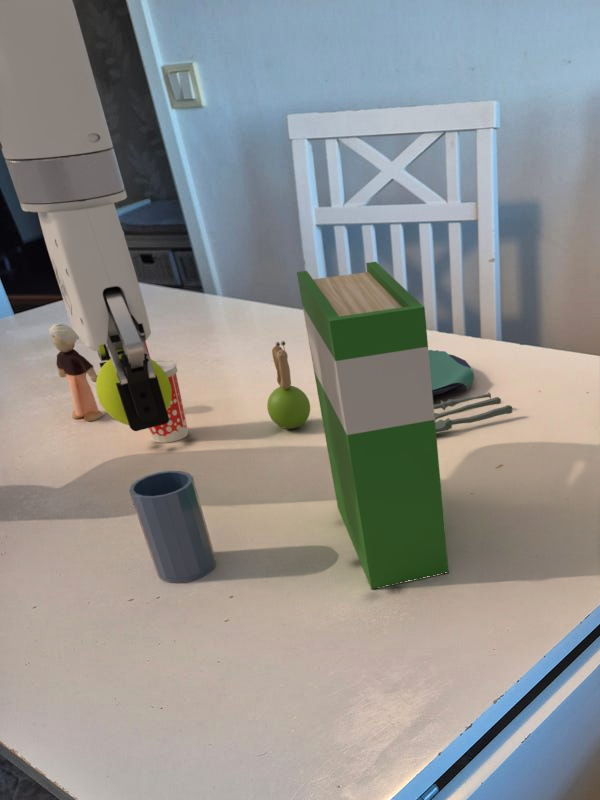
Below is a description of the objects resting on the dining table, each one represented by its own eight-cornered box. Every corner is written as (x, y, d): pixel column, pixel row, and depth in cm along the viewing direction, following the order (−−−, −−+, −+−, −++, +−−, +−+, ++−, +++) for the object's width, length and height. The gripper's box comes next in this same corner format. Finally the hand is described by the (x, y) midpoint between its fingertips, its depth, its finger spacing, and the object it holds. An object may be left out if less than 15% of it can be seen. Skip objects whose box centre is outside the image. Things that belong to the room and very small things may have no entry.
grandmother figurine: (59, 420, 117) (24, 327, 109) (77, 410, 120) (45, 318, 112) (104, 424, 115) (72, 329, 107) (121, 413, 118) (92, 321, 110)
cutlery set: (440, 355, 131) (439, 340, 130) (528, 416, 109) (528, 399, 107) (317, 379, 125) (314, 364, 123) (383, 450, 102) (381, 432, 101)
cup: (154, 586, 80) (125, 501, 74) (160, 557, 84) (133, 475, 79) (214, 578, 80) (190, 492, 75) (217, 549, 85) (194, 467, 79)
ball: (103, 441, 71) (79, 370, 67) (114, 416, 76) (92, 348, 72) (176, 431, 72) (156, 361, 68) (182, 407, 76) (164, 340, 73)
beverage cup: (164, 425, 113) (133, 318, 105) (203, 428, 112) (175, 320, 103) (136, 443, 109) (102, 333, 100) (177, 446, 107) (145, 335, 99)
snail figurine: (277, 441, 107) (257, 345, 99) (268, 424, 111) (248, 332, 104) (319, 432, 108) (302, 338, 101) (308, 416, 113) (291, 325, 106)
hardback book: (337, 507, 91) (296, 272, 76) (404, 495, 92) (375, 261, 78) (371, 589, 77) (329, 321, 63) (448, 572, 79) (424, 307, 64)
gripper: (1, 178, 67) (78, 398, 78) (31, 201, 55) (118, 458, 65) (98, 166, 70) (159, 379, 81) (147, 185, 58) (212, 434, 68)
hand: (140, 412), depth 73 cm, fingers closed on ball, 5 cm apart
